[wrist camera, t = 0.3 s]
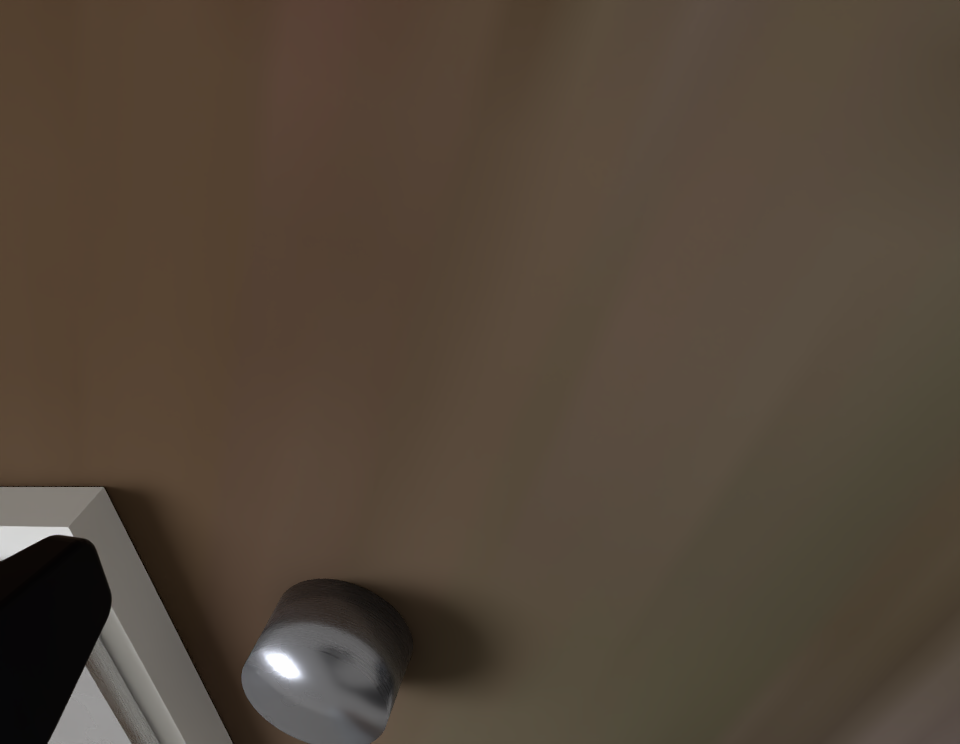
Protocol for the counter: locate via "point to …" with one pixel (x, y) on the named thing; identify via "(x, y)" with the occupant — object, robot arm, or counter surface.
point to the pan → (102, 708)
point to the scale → (121, 608)
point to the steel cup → (329, 663)
